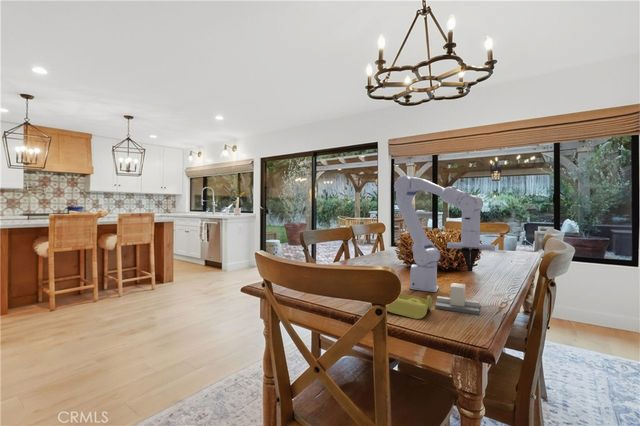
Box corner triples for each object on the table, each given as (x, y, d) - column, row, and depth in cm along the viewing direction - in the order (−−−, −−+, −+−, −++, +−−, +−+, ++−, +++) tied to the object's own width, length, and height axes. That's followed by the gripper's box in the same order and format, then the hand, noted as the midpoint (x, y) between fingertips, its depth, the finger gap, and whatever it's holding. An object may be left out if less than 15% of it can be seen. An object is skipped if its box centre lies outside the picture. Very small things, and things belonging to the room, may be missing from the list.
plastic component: (434, 301, 95) (429, 294, 87) (429, 325, 93) (424, 320, 85) (373, 287, 105) (363, 280, 97) (367, 309, 103) (357, 303, 95)
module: (450, 304, 96) (450, 286, 96) (451, 300, 100) (451, 282, 100) (464, 306, 94) (464, 288, 94) (465, 301, 98) (465, 284, 98)
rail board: (435, 308, 95) (435, 301, 95) (439, 299, 104) (439, 293, 104) (479, 314, 90) (479, 307, 90) (479, 304, 99) (479, 298, 99)
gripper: (446, 230, 105) (445, 270, 106) (495, 232, 98) (494, 275, 99) (448, 229, 112) (448, 267, 112) (494, 231, 105) (494, 271, 105)
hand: (469, 270), depth 106 cm, fingers closed
